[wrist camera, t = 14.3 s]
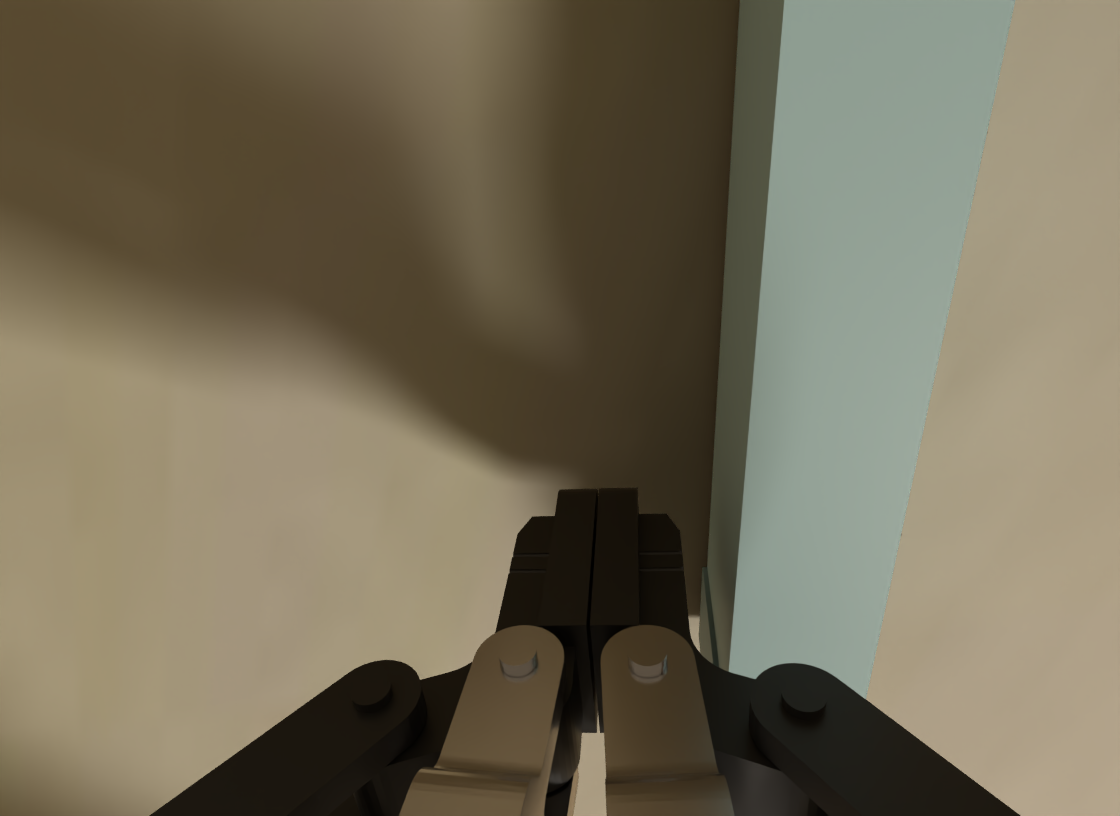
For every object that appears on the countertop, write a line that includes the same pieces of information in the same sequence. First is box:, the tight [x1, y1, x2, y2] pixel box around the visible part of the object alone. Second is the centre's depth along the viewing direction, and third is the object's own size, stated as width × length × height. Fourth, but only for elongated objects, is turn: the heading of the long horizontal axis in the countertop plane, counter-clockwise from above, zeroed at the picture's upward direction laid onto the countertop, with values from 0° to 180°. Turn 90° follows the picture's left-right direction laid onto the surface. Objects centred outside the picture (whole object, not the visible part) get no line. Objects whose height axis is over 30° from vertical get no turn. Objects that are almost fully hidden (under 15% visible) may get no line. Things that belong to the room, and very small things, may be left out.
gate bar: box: [699, 0, 1015, 699], centre depth 11 cm, size 14×2×4 cm, turn 3°
